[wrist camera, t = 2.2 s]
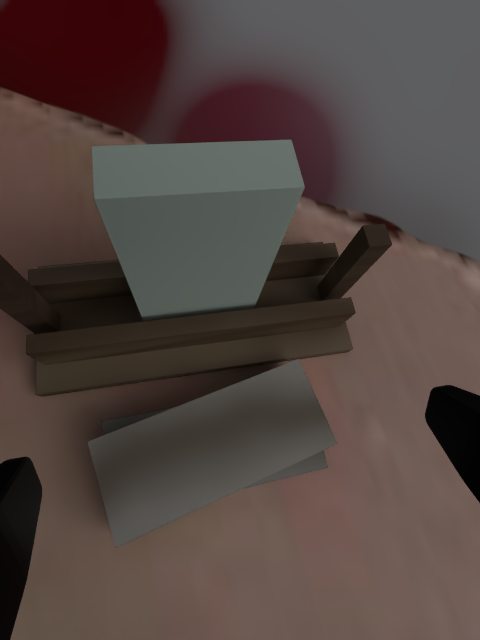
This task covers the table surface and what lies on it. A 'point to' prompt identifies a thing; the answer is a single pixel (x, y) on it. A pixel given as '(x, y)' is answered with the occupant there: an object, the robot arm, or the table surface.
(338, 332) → the walnut rack
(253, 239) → the sage panel
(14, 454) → the table surface
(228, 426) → the upper offcut
